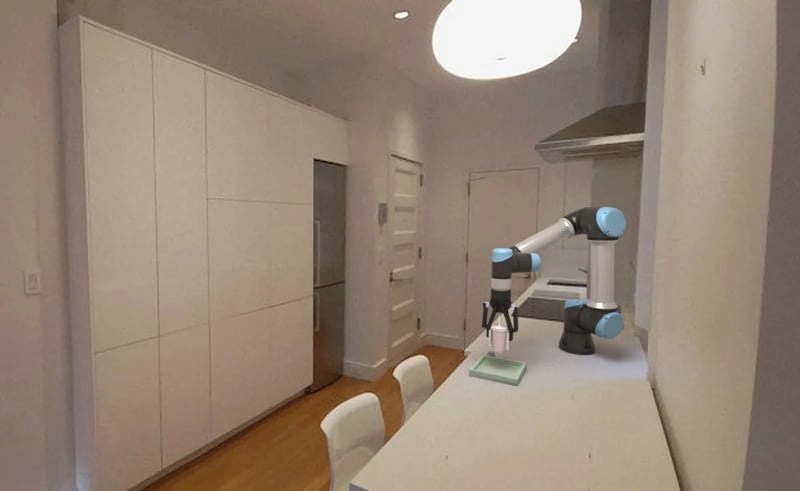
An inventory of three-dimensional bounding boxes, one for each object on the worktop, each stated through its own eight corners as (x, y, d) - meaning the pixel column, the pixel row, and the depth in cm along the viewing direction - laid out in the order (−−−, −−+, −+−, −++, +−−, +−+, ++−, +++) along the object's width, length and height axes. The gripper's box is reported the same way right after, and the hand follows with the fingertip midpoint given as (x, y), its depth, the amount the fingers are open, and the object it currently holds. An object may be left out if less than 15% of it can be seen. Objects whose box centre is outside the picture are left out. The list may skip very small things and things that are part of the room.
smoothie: (488, 351, 149) (489, 316, 148) (493, 346, 154) (493, 312, 153) (505, 354, 146) (506, 318, 145) (509, 349, 151) (510, 314, 150)
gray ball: (496, 359, 164) (496, 351, 164) (493, 362, 161) (494, 353, 161) (487, 357, 166) (488, 349, 166) (485, 360, 163) (485, 352, 162)
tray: (526, 368, 155) (526, 362, 154) (517, 386, 139) (517, 379, 139) (482, 360, 163) (482, 354, 163) (469, 375, 147) (469, 369, 147)
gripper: (528, 289, 147) (526, 348, 149) (479, 284, 156) (478, 340, 158) (524, 293, 140) (522, 354, 142) (473, 287, 149) (472, 345, 151)
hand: (499, 347), depth 150 cm, fingers closed on smoothie, 6 cm apart
